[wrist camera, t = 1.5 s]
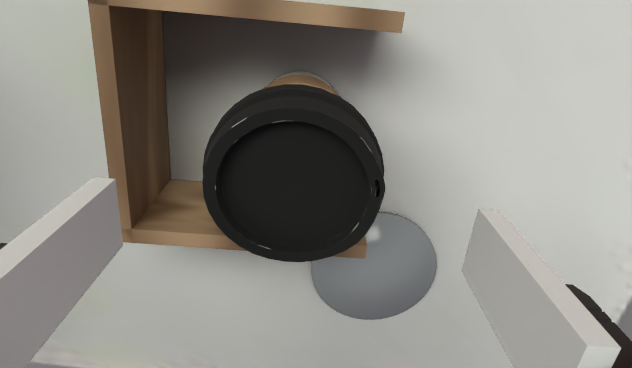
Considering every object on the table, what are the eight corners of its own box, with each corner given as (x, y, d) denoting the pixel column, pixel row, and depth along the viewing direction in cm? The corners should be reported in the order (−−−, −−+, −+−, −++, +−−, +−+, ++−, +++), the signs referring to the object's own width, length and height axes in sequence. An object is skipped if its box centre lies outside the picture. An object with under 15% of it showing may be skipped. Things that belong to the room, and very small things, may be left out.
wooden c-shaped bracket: (159, 189, 34) (116, 241, 26) (145, -13, 28) (85, -19, 20) (353, 204, 34) (365, 258, 27) (380, 9, 29) (404, 12, 21)
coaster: (306, 311, 39) (306, 315, 38) (317, 207, 35) (317, 210, 34) (422, 318, 39) (423, 322, 39) (446, 216, 35) (448, 220, 35)
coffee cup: (358, 158, 33) (392, 270, 19) (252, 166, 33) (211, 283, 19) (353, 47, 30) (391, 87, 16) (236, 58, 30) (171, 105, 16)
